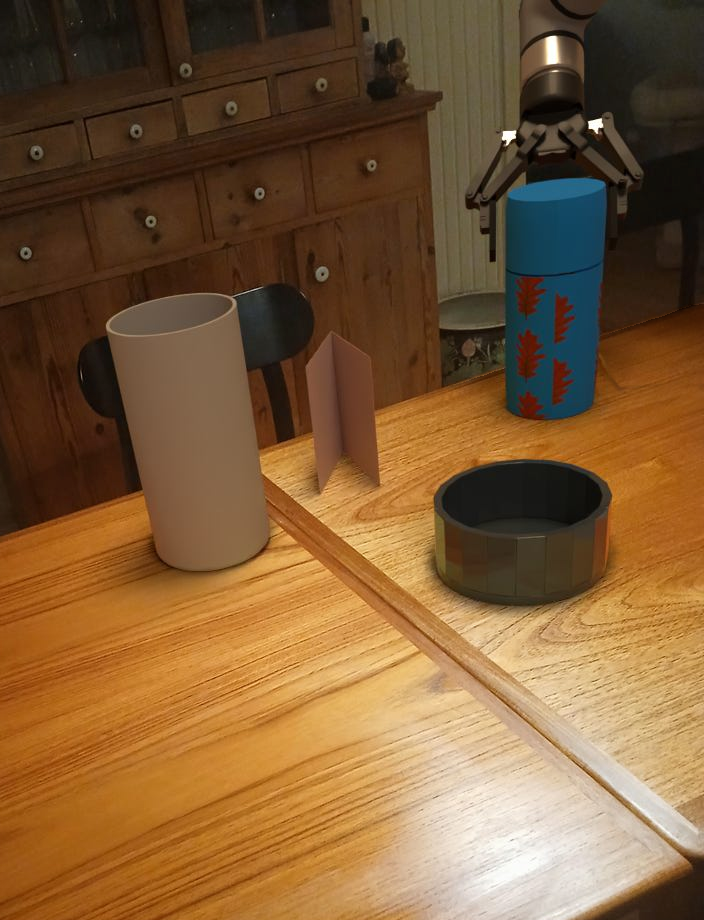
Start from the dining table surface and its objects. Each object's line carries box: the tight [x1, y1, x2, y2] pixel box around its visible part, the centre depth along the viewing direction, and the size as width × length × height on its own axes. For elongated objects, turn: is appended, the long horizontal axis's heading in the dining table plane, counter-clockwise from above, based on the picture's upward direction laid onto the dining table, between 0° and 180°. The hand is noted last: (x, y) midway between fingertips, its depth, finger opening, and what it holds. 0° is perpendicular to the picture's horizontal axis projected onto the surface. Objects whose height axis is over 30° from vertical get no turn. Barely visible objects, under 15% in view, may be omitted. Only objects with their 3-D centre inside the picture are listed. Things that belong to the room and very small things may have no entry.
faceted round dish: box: [432, 458, 613, 607], centre depth 92 cm, size 16×16×7 cm
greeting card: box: [305, 330, 381, 495], centre depth 112 cm, size 11×7×15 cm, turn 161°
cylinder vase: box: [105, 292, 271, 572], centre depth 100 cm, size 12×12×25 cm
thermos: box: [504, 177, 608, 420], centre depth 116 cm, size 11×11×25 cm
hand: (551, 250), depth 117 cm, fingers open, 13 cm apart
